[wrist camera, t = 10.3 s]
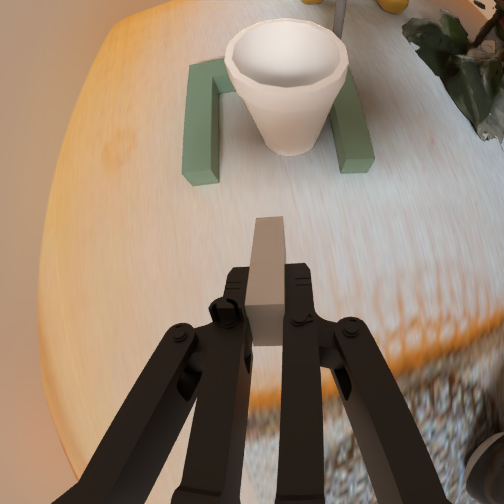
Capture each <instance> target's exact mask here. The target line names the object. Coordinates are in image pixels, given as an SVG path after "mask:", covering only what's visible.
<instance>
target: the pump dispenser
mask: <svg viewBox="0 0 504 504" xmlns="http://www.w3.org/2000/svg"><path fill="white" fill-rule="evenodd" d="M465 484H466V491H467V493H468V494H469V495H470V496H471V497H472V498H473V499H475V500H476V501H477V502H479V503H480V504H504V432H501V433H497V434H495V435H493V436H491V437H489V438H488V439H486V440H485V441H484V442H483V443H482V444H480V445H479V447H478V448H477V449H476V450H475V451H474V453H473V454H472V456H471V457H470V459H469V461H468V463H467V466H466V469H465Z"/></svg>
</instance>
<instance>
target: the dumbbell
mask: <svg viewBox="0 0 504 504" xmlns="http://www.w3.org/2000/svg"><path fill="white" fill-rule="evenodd" d="M322 1H323V0H302V2H303V3H305V4H319V3H321V2H322ZM377 1H378V3H379V4H380V6H381V7H382V8H383V9H384V10H385V11H387V12H390V13H395V14H400V13H401V12H403V11H404V10H405V9H406V7H407V6H408V2H409V0H377Z"/></svg>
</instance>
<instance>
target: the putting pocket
mask: <svg viewBox="0 0 504 504" xmlns="http://www.w3.org/2000/svg"><path fill="white" fill-rule="evenodd" d="M345 6H346V0H336V5H335V15H334V26H333V33H334V34H335V35H336V36H337V37H338V38H339V39H340V40H341V37H342V30H343V22H344V14H345ZM235 91H236V89H235V88H234V86H233V84H232V82H231V80H230V78H229V75H228V71H227V68H226V65H225V62H224V59H220V60H214V61H208V62H203V63H198V64H193V65H190V66H189V75H188V85H187V96H186V108H185V121H184V137H183V156H182V175H183V176H184V177H185V178H186V179H187V180H188V181H189V183H190V184H191V185H192V186H197V185H205V184H213V183H219V94H221V93H228V92H235ZM329 116H330V121H331V125H332V130H333V135H334V140H335V145H336V151H337V156H338V162H339V167H340V173H367V172H368V170H369V168H370V167H371V165H372V163H373V162H374V160H375V156H374V152H373V147H372V143H371V139H370V135H369V131H368V128H367V124H366V120H365V116H364V113H363V109H362V106H361V103H360V99H359V96H358V93H357V90H356V87H355V83H354V80H353V77H352V75H351V72H350V69H349V66H348V69H347V74H346V79H345V82H344V84H343V86H342V88H341V89H340V91H339V93H338V95H337V96H336V98H335V100H334V102H333V105H332V107H331V109H330V112H329Z"/></svg>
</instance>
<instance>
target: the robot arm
mask: <svg viewBox="0 0 504 504" xmlns="http://www.w3.org/2000/svg"><path fill="white" fill-rule="evenodd" d="M208 309H209V312H210V315H211V318H212V320H213V322H211V323H210V324H208V325H205V326H201V327H197V328H193V327H192V326H191V325H190V324H187V323H179V324H175V325H174V326H172V327H170V328H169V330H168V331H167V332H166V333H165V335H164V337H163V338H162V340H161V341H160V343H159V345H158V346H157V348H156V350H155V351H154V353H153V354H152V356H151V358H150V359H149V361H148V363H147V364H146V366H145V368H144V369H143V371H142V372H141V374H140V376H139V377H138V379H137V381H136V382H135V384H134V386H133V387H132V389H131V391H130V392H129V394H128V396H127V397H126V399H125V401H124V403H123V404H122V406H121V408H120V409H119V411H118V413H117V414H116V416H115V418H114V420H113V421H112V423H111V425H110V426H109V428H108V430H107V432H106V433H105V435H104V437H103V439H102V440H101V442H100V444H99V446H98V447H97V449H96V451H95V453H94V455H93V456H92V458H91V460H90V462H89V464H88V465H87V467H86V469H85V471H84V473H83V474H82V476H81V478H80V480H79V482H78V483H76V484H75V485H74V486H73V487H71V488H70V489H69V490H68V491H67V492H65V493H64V494H63V495H61V496H60V497H59V498H58V499H56V500H55V501H54V502H52V503H51V504H144V503H145V501H146V500H147V498H148V496H149V494H150V492H151V490H152V488H153V486H154V484H155V482H156V480H157V478H158V476H159V474H160V472H161V470H162V468H163V466H164V464H165V462H166V460H167V458H168V456H169V454H170V452H171V450H172V447H173V445H174V443H175V441H176V439H177V437H178V435H179V433H180V431H181V429H182V427H183V425H184V423H185V421H186V419H187V417H188V415H189V413H190V411H191V409H192V407H193V404H194V402H195V400H196V398H197V401H196V407H195V412H194V417H193V422H192V427H191V432H190V438H189V443H188V448H187V454H186V459H185V465H184V470H183V476H182V481H181V484H180V486H179V487H178V488H177V489H176V490H175V491H174V493H173V495H172V499H171V504H241V503H240V487H241V477H242V468H243V458H244V448H245V438H246V427H247V417H248V406H249V396H250V385H251V374H252V363H253V353H252V341H253V345H254V346H281V345H283V352H282V390H281V418H280V440H279V459H278V476H277V491H276V498H275V504H325V497H324V446H323V412H322V390H321V373H320V366H321V367H325V368H329V369H330V370H331V373H332V375H333V378H334V381H335V383H336V386H337V389H338V391H339V394H340V396H341V399H342V402H343V404H344V407H345V410H346V413H347V415H348V418H349V421H350V423H351V426H352V429H353V432H354V434H355V437H356V440H357V443H358V446H359V448H360V451H361V454H362V457H363V460H364V463H365V466H366V468H367V471H368V474H369V477H370V480H371V483H372V486H373V489H374V492H375V495H376V498H377V501H378V504H452V503H451V502H450V501H449V500H448V499H446V496H445V493H444V490H443V488H442V485H441V483H440V480H439V477H438V475H437V472H436V470H435V467H434V465H433V462H432V460H431V458H430V455H429V453H428V450H427V448H426V446H425V443H424V441H423V439H422V437H421V434H420V432H419V430H418V427H417V425H416V423H415V421H414V419H413V416H412V414H411V412H410V410H409V408H408V406H407V404H406V402H405V399H404V397H403V395H402V393H401V391H400V389H399V387H398V385H397V383H396V381H395V379H394V377H393V375H392V373H391V371H390V369H389V367H388V365H387V363H386V361H385V359H384V357H383V355H382V353H381V351H380V350H379V348H378V346H377V344H376V342H375V340H374V338H373V336H372V334H371V333H370V331H369V329H368V327H367V325H366V324H365V323H364V322H363V321H362V320H360V319H359V318H355V317H345V318H343V319H341V320H339V321H338V322H337V323H336V322H331V321H327V320H324V319H322V318H321V317H319V316H318V315H317V313H316V312H315V309H314V301H313V291H312V282H311V273H310V269H309V268H308V266H307V265H306V264H305V263H295V264H286V247H285V234H284V222H283V216H280V217H266V218H256V223H255V231H254V238H253V246H252V253H251V261H250V267H233V268H232V270H231V271H230V272H229V274H228V276H227V280H226V285H225V290H224V294H223V297H220V298H218V299H216V300H214V301H213V302H212V303H211V304H210V306H209V308H208Z"/></svg>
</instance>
